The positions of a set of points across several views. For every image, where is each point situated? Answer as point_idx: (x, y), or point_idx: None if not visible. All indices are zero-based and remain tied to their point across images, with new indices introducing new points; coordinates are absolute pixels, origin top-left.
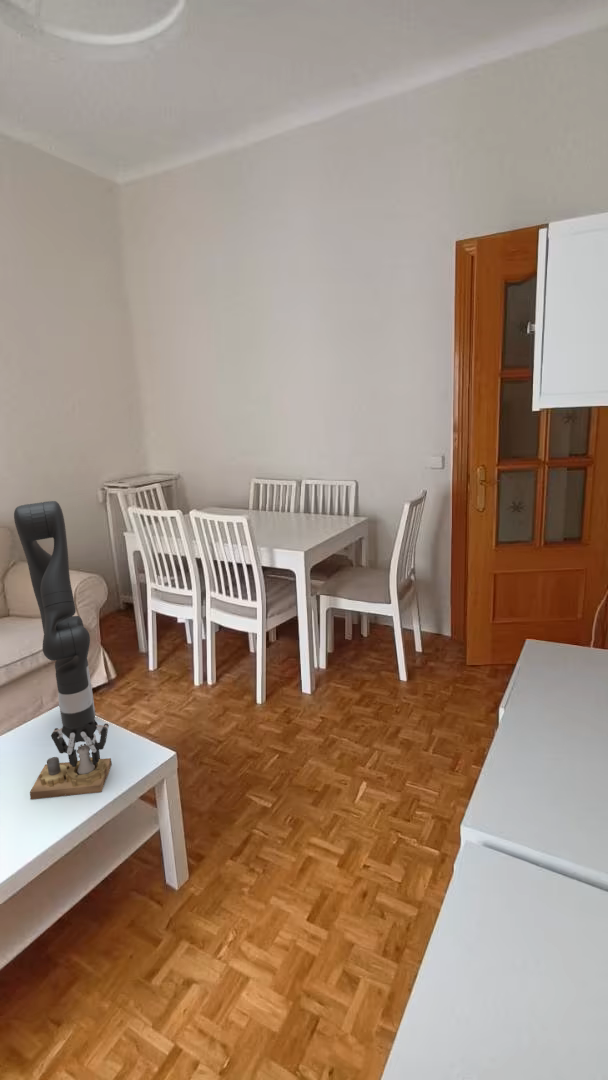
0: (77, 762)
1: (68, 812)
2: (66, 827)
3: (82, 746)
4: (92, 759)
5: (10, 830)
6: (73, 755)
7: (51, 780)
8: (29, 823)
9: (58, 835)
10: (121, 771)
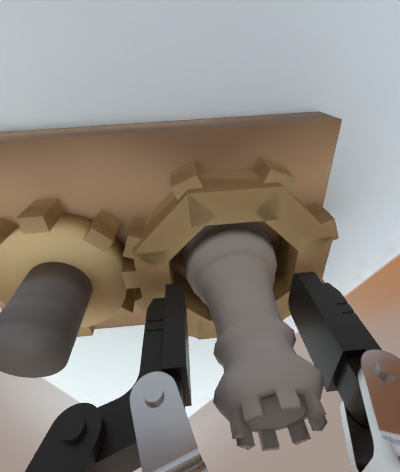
0: (164, 235)
1: (202, 350)
2: (216, 382)
3: (264, 409)
4: (304, 340)
5: (69, 391)
6: (190, 393)
7: (88, 333)
8: (107, 376)
9: (205, 396)
10: (366, 176)
